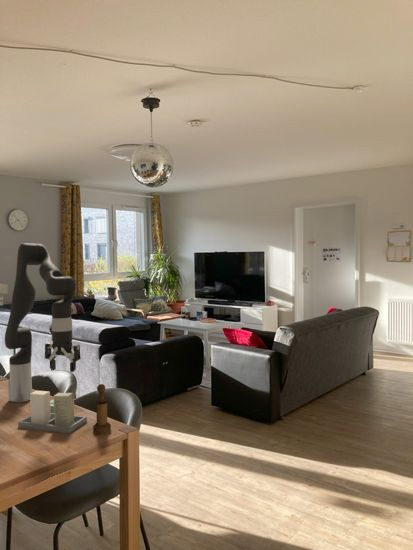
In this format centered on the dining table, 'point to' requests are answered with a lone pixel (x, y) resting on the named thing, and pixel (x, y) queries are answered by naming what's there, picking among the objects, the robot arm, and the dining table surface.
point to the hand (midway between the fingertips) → (62, 370)
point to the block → (40, 407)
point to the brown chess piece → (101, 414)
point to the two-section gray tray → (52, 424)
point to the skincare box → (64, 409)
